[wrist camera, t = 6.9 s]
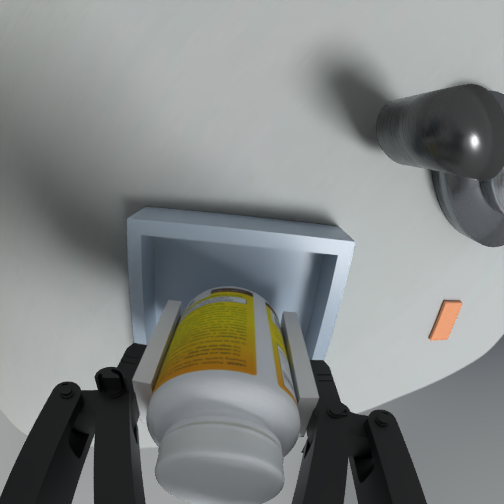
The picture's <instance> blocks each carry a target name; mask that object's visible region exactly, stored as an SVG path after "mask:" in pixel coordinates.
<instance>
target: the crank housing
mask: <svg viewBox="0 0 504 504" xmlns="http://www.w3.org/2000/svg"><path fill="white" fill-rule="evenodd" d="M489 92H490V93H491V94H492V95H493V96H494V97H495V99H496V100H497V101H498V103H499V105H500V106H501V108H502V110H503V112H504V94H502V93H499V92H495V91H489ZM432 173H433V181H434V187H435V191H436V195H437V198H438V201H439V204H440V206H441V209H442V211H443V213H444V215H445V216H446V218H447V219H448V221H449V222H450V224H451V225H452V226H453V227H454V228H455V229H456V230H457V231H459V232H460V233H461V234H463V235H465V236H467V237H469V238H471V239H473V240H475V241H476V242H478V243H480V244H482V245H485V246H488V247H499V246H502V245H504V215H502V214H500V213H498V212H496V211H494V210H493V209H492V208H491V207H490V206H489V204H488V203H487V201H486V199H485V196H484V194H483V190H482V186H481V181H480V180H476V179H472V178H468V177H463V176H459V175H454V174H450V173H445V172H440V171H435V170H432Z"/></svg>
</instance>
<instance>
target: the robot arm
mask: <svg viewBox="0 0 504 504" xmlns="http://www.w3.org/2000/svg"><path fill="white" fill-rule="evenodd" d="M181 316H182V301H174V300H168V302H167V304H166V306H165V308H164V310H163V312H162V315H161V317H160V319H159V321H158V323H157V325H156V327H155V330H154V332H153V334H152V336H151V338H150V341H149V343H148V345H144V344H138V343H133V344H132V345H131V346H129V347H128V348H127V349H126V351H125V353H124V355H123V357H122V359H121V362H120V363H119V365H118V367H117V368H116V367H106V368H103V369H101V370H99V371H98V372H97V373H96V375H95V381H96V384H97V388H98V390H81V389H80V387H79V386H78V385H77V384H76V383H73V382H62V383H60V384H58V385H57V386H56V387H55V388H54V389H53V391H52V393H51V394H50V396H49V398H48V400H47V402H46V403H45V405H44V407H43V409H42V411H41V412H40V414H39V416H38V418H37V420H36V422H35V424H34V426H33V427H32V429H31V431H30V433H29V435H28V437H27V439H26V441H25V443H24V445H23V447H22V450H21V451H20V453H19V456H18V458H17V460H16V462H15V464H14V466H13V469H12V471H11V473H10V475H9V478H8V480H7V483H6V485H5V487H4V489H3V492H2V494H1V497H0V504H71V503H72V500H73V496H74V493H75V490H76V487H77V484H78V480H79V477H80V474H81V471H82V468H83V465H84V462H85V459H86V456H87V454H88V451H89V448H90V445H91V442H92V439H93V437H94V434H95V444H94V504H146V503H145V496H144V488H143V480H142V471H141V461H140V449H139V435H138V427H137V421H138V418H139V416H140V420H141V422H142V423H147V420H146V416H147V409H148V405H149V402H150V399H151V396H152V393H153V390H154V387H155V385H156V382H157V379H158V377H159V374H160V371H161V368H162V366H163V363H164V360H165V357H166V355H167V352H168V350H169V347H170V344H171V342H172V339H173V337H174V334H175V331H176V329H177V326H178V324H179V321H180V319H181ZM280 327H281V331H282V336H283V340H284V345H285V349H286V354H287V358H288V363H289V368H290V372H291V377H292V382H293V387H294V391H295V396H296V401H297V406H298V410H299V415H300V433H299V437H304V435H305V432H306V431H307V436H308V439H307V441H306V444H305V446H304V448H303V450H302V453H303V458H302V463H301V467H300V471H299V476H298V480H297V484H296V488H295V492H294V497H293V501H292V504H343V503H344V495H345V487H346V476H347V466H348V457H349V461H350V466H351V470H352V475H353V480H354V485H355V489H356V495H357V499H358V504H427V503H426V500H425V496H424V494H423V491H422V488H421V485H420V482H419V479H418V476H417V473H416V471H415V468H414V465H413V462H412V460H411V457H410V454H409V452H408V449H407V447H406V444H405V441H404V439H403V436H402V433H401V431H400V428H399V426H398V423H397V421H396V419H395V417H394V416H393V415H392V414H391V413H390V412H388V411H385V410H375V411H373V412H371V413H370V414H369V416H365V415H359V414H355V413H352V412H350V410H349V409H348V407H347V406H346V405H344V404H343V403H341V401H340V398H339V395H338V392H337V389H336V386H335V383H334V380H333V377H332V374H331V371H330V368H329V366H328V365H327V364H326V363H325V362H324V361H323V360H309V357H308V353H307V349H306V346H305V342H304V338H303V335H302V331H301V327H300V324H299V320H298V317H297V313H296V312H286V311H283V314H282V319H281V325H280Z"/></svg>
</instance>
